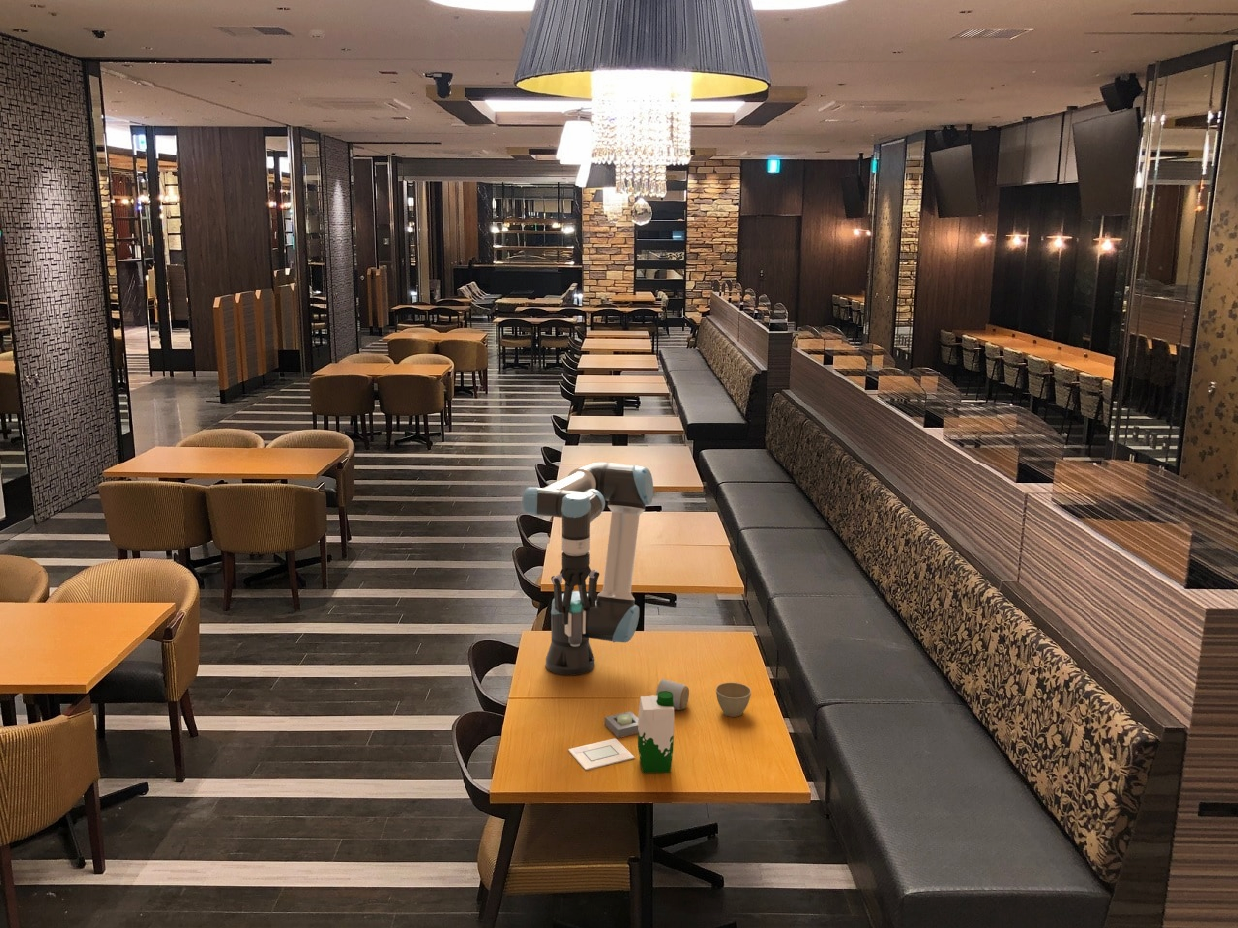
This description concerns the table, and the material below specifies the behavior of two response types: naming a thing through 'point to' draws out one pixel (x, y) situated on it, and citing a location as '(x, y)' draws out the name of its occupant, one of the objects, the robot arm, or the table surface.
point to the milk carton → (656, 732)
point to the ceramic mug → (675, 692)
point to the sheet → (600, 754)
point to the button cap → (624, 720)
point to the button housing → (625, 729)
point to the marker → (576, 623)
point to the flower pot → (733, 698)
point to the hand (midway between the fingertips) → (575, 633)
